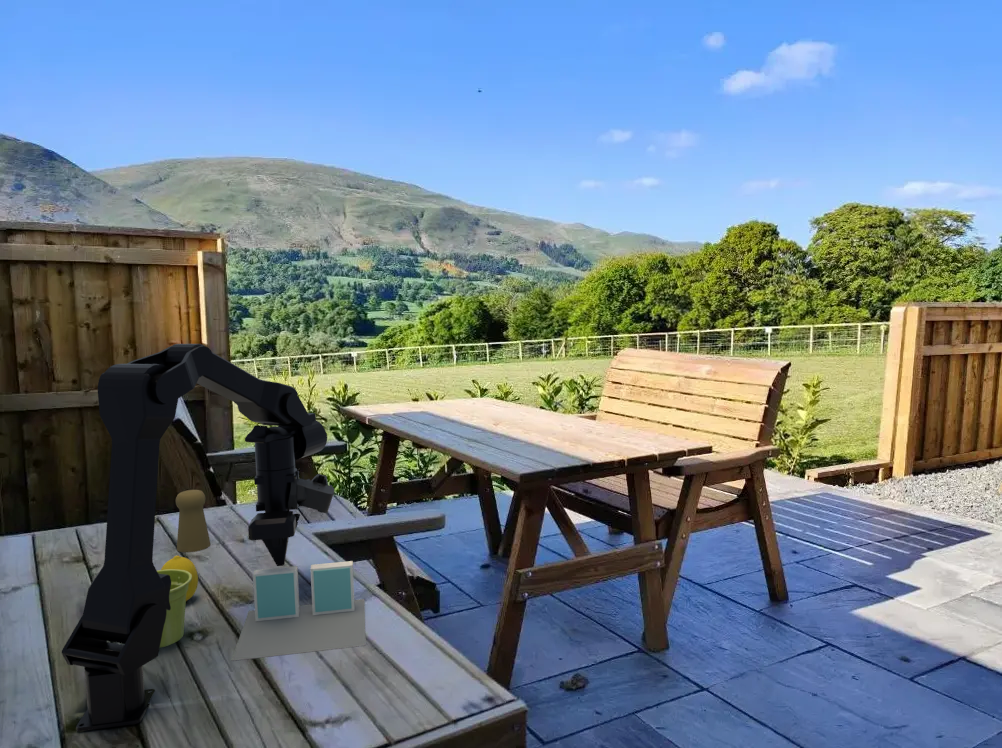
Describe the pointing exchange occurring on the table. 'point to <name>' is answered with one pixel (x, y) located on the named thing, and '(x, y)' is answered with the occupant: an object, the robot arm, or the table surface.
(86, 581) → the table surface
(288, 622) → the slate mat
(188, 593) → the lemon
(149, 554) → the robot arm
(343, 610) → the tile
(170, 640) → the plant pot
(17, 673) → the table surface
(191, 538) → the cork
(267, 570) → the tile
